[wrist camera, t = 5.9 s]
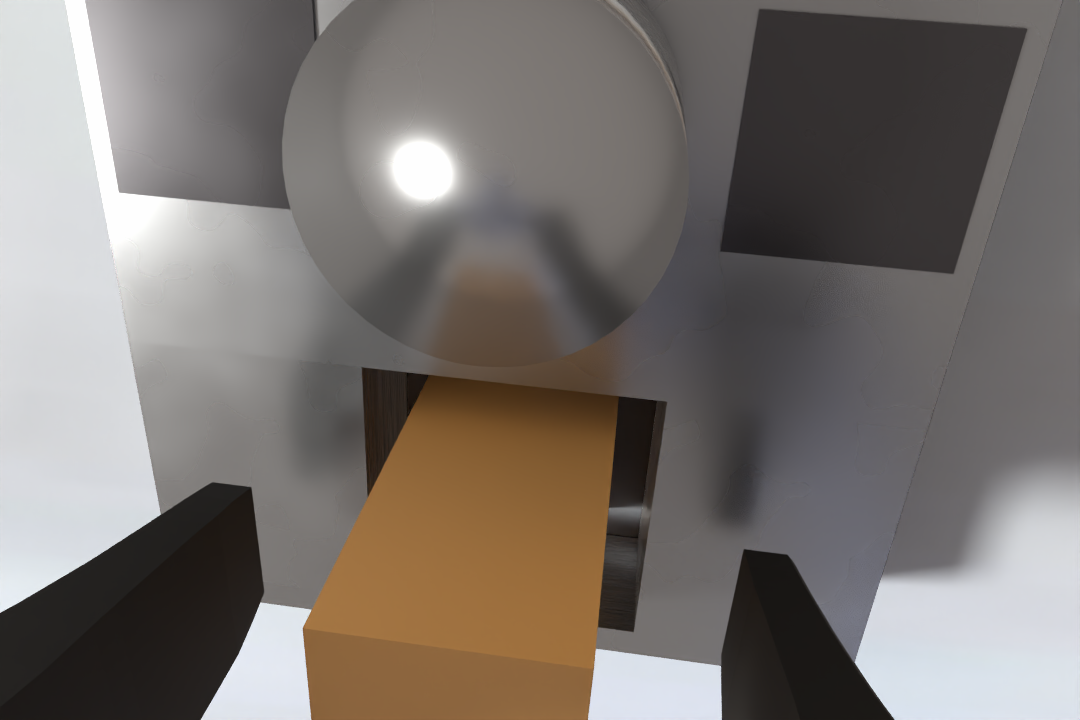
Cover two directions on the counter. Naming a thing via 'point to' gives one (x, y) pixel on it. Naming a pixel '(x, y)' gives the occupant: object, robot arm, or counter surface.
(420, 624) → the orange rectangular box
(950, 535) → the counter surface
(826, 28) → the gray tray with knob
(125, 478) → the counter surface
